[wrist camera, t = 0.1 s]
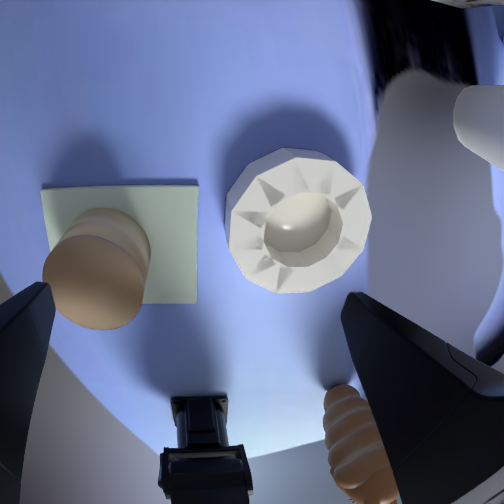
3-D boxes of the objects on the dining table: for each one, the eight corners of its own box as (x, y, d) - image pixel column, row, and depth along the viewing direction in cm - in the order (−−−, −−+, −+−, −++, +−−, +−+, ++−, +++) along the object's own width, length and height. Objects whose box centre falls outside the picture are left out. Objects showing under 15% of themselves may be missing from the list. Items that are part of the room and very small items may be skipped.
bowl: (336, 269, 27) (351, 290, 25) (221, 270, 25) (225, 294, 23) (361, 156, 23) (382, 167, 20) (230, 144, 21) (236, 153, 18)
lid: (153, 289, 25) (148, 331, 21) (74, 287, 23) (56, 327, 19) (148, 206, 21) (138, 239, 17) (59, 208, 20) (32, 239, 16)
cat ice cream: (291, 399, 36) (333, 529, 21) (335, 360, 34) (398, 499, 18) (336, 409, 40) (379, 517, 24) (376, 375, 38) (435, 487, 22)
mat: (196, 300, 27) (196, 303, 26) (64, 298, 24) (63, 301, 24) (198, 185, 22) (198, 186, 21) (42, 188, 19) (40, 190, 19)
